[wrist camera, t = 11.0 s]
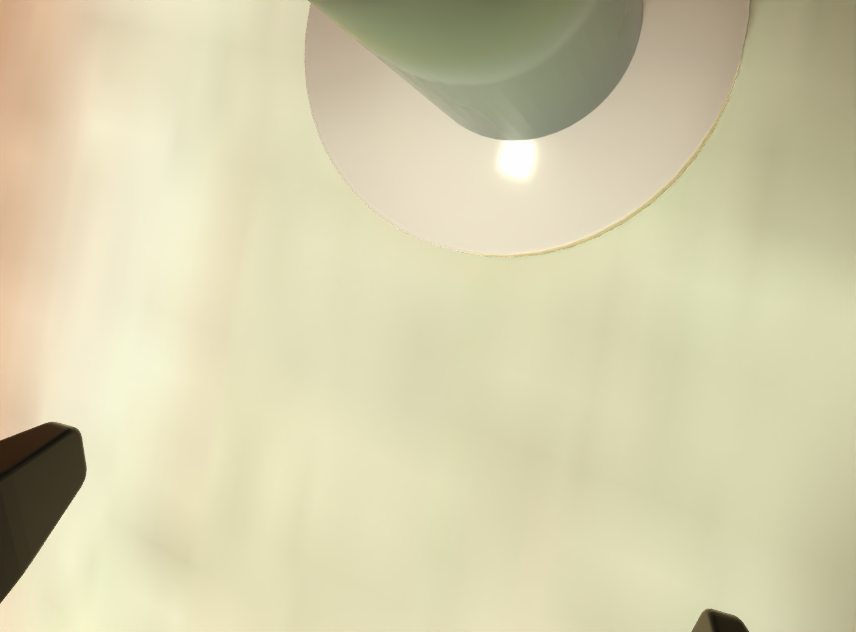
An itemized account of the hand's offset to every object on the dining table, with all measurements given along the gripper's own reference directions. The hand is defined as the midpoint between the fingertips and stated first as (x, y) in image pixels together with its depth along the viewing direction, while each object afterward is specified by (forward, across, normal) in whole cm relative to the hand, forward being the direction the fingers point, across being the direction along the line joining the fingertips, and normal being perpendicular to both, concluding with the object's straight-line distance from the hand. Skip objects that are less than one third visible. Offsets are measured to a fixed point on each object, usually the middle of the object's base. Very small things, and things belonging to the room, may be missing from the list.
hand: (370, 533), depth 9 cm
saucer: (+14, +1, -5) cm, 15 cm away
